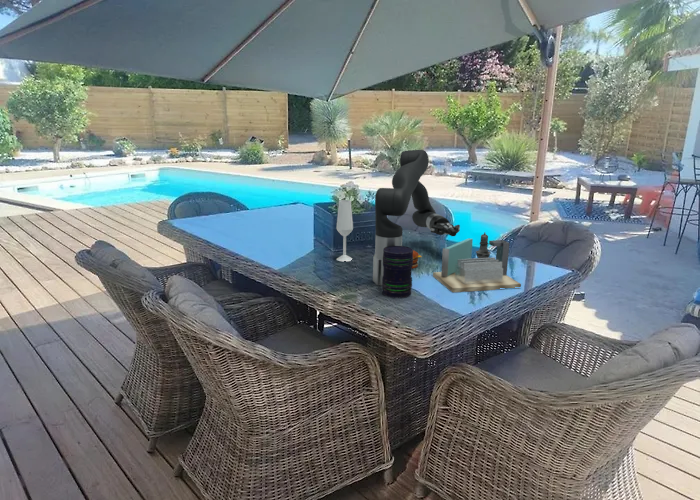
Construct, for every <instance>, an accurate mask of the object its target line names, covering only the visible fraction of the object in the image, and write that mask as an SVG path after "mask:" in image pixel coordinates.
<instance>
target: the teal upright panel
mask: <svg viewBox="0 0 700 500" xmlns="http://www.w3.org/2000/svg"><path fill="white" fill-rule="evenodd" d="M472 254H473V238H466V239H464V240H461V241H459V242H455V243H454V244H451V245H449V246H447V247H443V248H442V254H441V255H442V259H441V271H440V272H441V276H442V277H447V276H448V275H450V274H452V273H454V272H455V269H456V264H457V259H472Z"/></svg>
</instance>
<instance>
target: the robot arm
mask: <svg viewBox="0 0 700 500" xmlns="http://www.w3.org/2000/svg"><path fill="white" fill-rule="evenodd" d="M429 159H430V158H429V154H428V153H427V151H426V150H424V149H413V150H412V149H411V150H403V151H402V152H401V153H400V156H399V166H400V167H399V168H398V169H397V170H396V171H395V173H394V175H393V177H392V179H391V184H392V185H391V186H392V187H379V188H378V189H377V191H376V192H375V196H374V206H375V207H374V210H375V211H374V212H375V213H374V214H375V220H374V221H375V222H374V224H375V226H374V227H375V242H374V243H375V244H374V245H375V247H374V250H375V251H374V254H373V258H372V259H373V260H372V281H373V282H374V284H375V285H376V286H379V287H380V286H381V287H382V277H383V271H384V266H383V253H384V252H383V249H384V248H385V247H388V246H403V232H404V231H403V227H402V226H401V225H399V224H396V223H395V222H393V221H391V220H390V219H389V218H388V216H391V217H401V216H403V215H405V213H407V210H408V207H409V204H410V202H411V199H412V203H413V206H414V209H416V211H414V212H413V213H412V216H411V217H412V218H411V219H412V221H413V223H414V224H415V225H416V226H417V227H420V228H428V229H429V231H430V233H433V234H436V235H437V236H438V235H439V236H443V235H449V236H451V237H456V236H457V234H458V233H459V232H460V229H461V225H460V224H457V225H454V224H452V223H450V221H449V220H448V218H447V217H444V216H442V215H441V214H438V213H437V212H436V211H435V209H434V207H433V206H432V204H431V202H430V197H429V192H428V189H427V188H426V187H425V185H424V184H423V183H422V182H420V179H421V177H422V176H423V175H424V174H425V173H426V172H427V169H428V167H429V162H430V161H429Z"/></svg>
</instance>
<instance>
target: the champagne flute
mask: <svg viewBox="0 0 700 500" xmlns="http://www.w3.org/2000/svg"><path fill="white" fill-rule="evenodd" d="M335 228H336V230H337V232H338V233H339V234H340V235H341V236H342V239H343V240H342V242H343V243H342V244H343V245H342V247H343V248H342V252H343V253H342V255H340V256H338V257H337V258H336V261H339V262H344V261H346V262H351V260H352V259H353V258H352V257H351V256H349V255H347V236H349V235H350V233H352V231H353V229H354V221H353V209H352V200H349V199H340V200H338V209H337V218H336V227H335ZM352 261H353V260H352Z"/></svg>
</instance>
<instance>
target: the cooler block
mask: <svg viewBox="0 0 700 500" xmlns="http://www.w3.org/2000/svg"><path fill="white" fill-rule="evenodd" d="M488 243H489V244H488V245H490V246H491V247H493V248H494V247H496V252H495V253H496V255H495V256H494V257H488V258H478V257H474V258H471V259H457V264H456V269H455V278H456V279H458V280H459V281H460V282H462V283H463V284H481V283H497V282H502V278H503V275H507V274H508V263H509V251H510V242H508V241H506V240H504V239H501V240H500V239H498V240H496V239H495V240H488ZM507 276H508V275H507Z"/></svg>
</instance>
